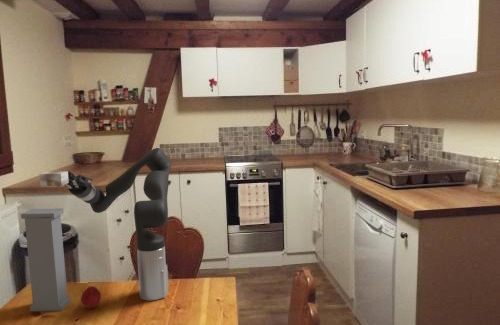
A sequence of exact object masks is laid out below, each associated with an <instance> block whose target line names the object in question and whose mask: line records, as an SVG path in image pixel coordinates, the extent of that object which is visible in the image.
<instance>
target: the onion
mask: <svg viewBox="0 0 500 325" xmlns="http://www.w3.org/2000/svg"><path fill="white" fill-rule="evenodd" d="M101 296H102V294H101V291H100V290H99V289H98V288H97V287H96V286H93V285H91V283H90V284H88V285H87V287H86V288H85V289H84V290H83V292H82V294H81V296H80V301H81V303H82V305H83V306H85V307H86V308H89V309H93V308H94V307H96V306H97V305H98V304H99V303H100V301H101Z"/></svg>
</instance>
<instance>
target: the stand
mask: <svg viewBox="0 0 500 325" xmlns="http://www.w3.org/2000/svg"><path fill="white" fill-rule="evenodd" d="M62 214H64V208H31V209H29V210H27V211H25V212H22V213H20V217H21V220H22V219H24V225H25V226H24V228H25V235H26V245H27V246H26V247H27V259H28V266H29V277H30V288H31V296H32V297H31V299H32V304H31V305H30V306H29V309H30V310H29V311H30V312H52V311H54V312H56V311H58V312H60V311H63V310H65V308H66V307H67V306H68V305H69V304H70V302H71V301H72V300H71V296H68V289H67V278H66V277H67V276H66V275H67V274H66V266H65V265H66V264H65V254H64V240H63V230H62V228H63V227H62V219H61V218H62V217H61V215H62Z"/></svg>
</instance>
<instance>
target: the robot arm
mask: <svg viewBox="0 0 500 325" xmlns="http://www.w3.org/2000/svg"><path fill="white" fill-rule="evenodd" d="M145 166H146V167H147V168H148V169H149V171H150V173H147V175H146V176H145V179H144V183H143V188H142V189H143V193H144V195H145V196H146V198H148V199H149V200H139V201H136V202H135V204H134V207H133V216H134V226H135V235H136V236H135V237H136V253H137V254H136V256H137V273H138V276H137V277H138V288H139V289H138V292H139V298H140V299H141V300H143V301H148V302H149V301H157V300H160V299H165V298H166V297H167V294H168V291H169V274H168V264H167V263H166V262H167V261H166V242H165V237H164V236H163V235H161V234H158V233H155V232H152V231H150V230H149V229H152V228H153V229H154V228H162V227H164V226H165V225H166V224H167V223H168V218H169V211H168V210H169V207H168V206H169V204H168V193H169V192H168V191H169V176H170V172H171V167H172V162H171V160H170V158H168V156H167V155H166V154H165V152H164V151H163V150H162V149H161V148H160V147H155V148H153V149H151V150H150V151H147V153H145V154H144V155H143V156H142V157H140V158H139V159H138V160H137V161H136V162H135V163H134V164H132V165H131V166H130V167H129V168H128V169H127V170H126V171H125V172H124V173H122V174H121V175H119V176H117V178H115V179H113V180H112V181H111V182H109V183H107V184H106V185H105V187H104V188H105V192H104V191H103V190H102V189H101V188H98V187H96V186H94V184H93V179H92V178H90V177H87V176H85V175H82V174H78V175H77V174H74V173H72V172H71V171H68V170H67V171H68V179H70V180H68V181H69V183H67V184H65V185H63V186H64V187H66V188H68V191H69V192H70V194H71V195H73V196H75V197H76V198H78V199H80V200H81V201H83V202H85V203H86V204H90V208H91V209H92V211H93V212H94V213H96V214H100V213H103V212H105V211H106V210H108V209H109V207H111V205H112V204H113V203H114V202H115V201H116V200H117V198H119V197H120V196H121V195H123V194H124V193H126V192H127V191H128V190H130V189H131V187H133V185H134V183H135V180H136V178H137V175H138V174H139V172H140V170H141V169H142V168H143V167H145Z"/></svg>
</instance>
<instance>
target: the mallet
mask: <svg viewBox="0 0 500 325" xmlns="http://www.w3.org/2000/svg"><path fill="white" fill-rule="evenodd" d="M38 176H39V186H40V187H55V186H56V187H60V186H64V185H65V184H67V183H69V181H68V180H70V179H68V170H67V171H62V170H61V171H45V172H42V173H39V174H38Z"/></svg>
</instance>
